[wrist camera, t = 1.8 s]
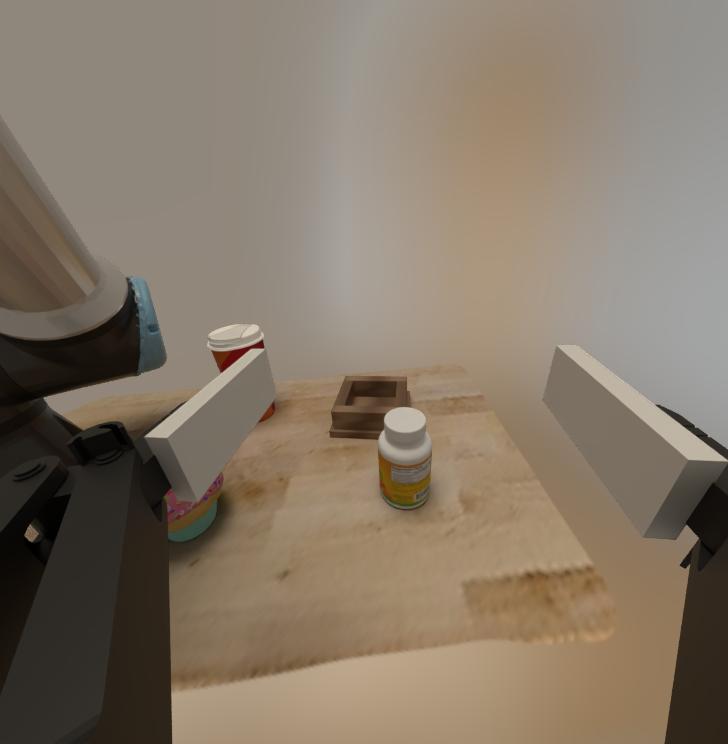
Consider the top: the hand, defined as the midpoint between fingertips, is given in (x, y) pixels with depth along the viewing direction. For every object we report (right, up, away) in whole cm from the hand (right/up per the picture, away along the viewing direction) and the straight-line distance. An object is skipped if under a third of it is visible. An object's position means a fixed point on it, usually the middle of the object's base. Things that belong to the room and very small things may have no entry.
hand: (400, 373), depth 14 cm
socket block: (0, -7, +31) cm, 32 cm away
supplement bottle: (+3, -13, +19) cm, 23 cm away
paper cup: (-19, -7, +34) cm, 39 cm away
